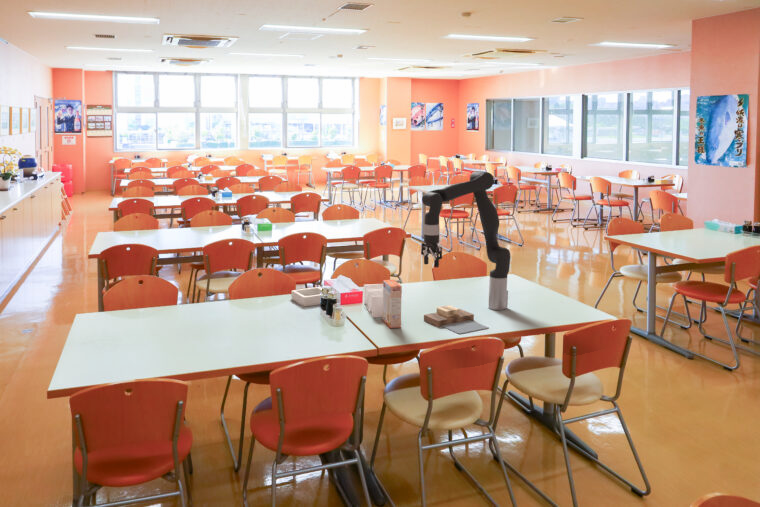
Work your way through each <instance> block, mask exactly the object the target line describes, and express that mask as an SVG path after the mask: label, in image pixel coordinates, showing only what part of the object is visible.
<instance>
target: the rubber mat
mask: <svg viewBox="0 0 760 507" xmlns="http://www.w3.org/2000/svg"><path fill="white" fill-rule="evenodd" d="M441 327H442V328H444V329H447V330H449V331H451V332H453V333H456V334H458V335H462V334H466V333H467V334H468V333H473V332H479V331H483V330H487V329H488V330H489V328H490V327H489V326H486V325H484V324H481V323H479V322H476V321H474V320H468V321H463V322H457V323H452V324H447V325H442V326H441Z"/></svg>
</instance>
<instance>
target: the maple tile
mask: <svg viewBox="0 0 760 507" xmlns="http://www.w3.org/2000/svg"><path fill="white" fill-rule="evenodd" d="M459 309H460V308H458V307H455V306H452V305H450V304H449V305H443V306H438V307H436V313H437V314H440V315H442V316H444V317H451V316H456V315H459Z"/></svg>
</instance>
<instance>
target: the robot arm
mask: <svg viewBox="0 0 760 507" xmlns="http://www.w3.org/2000/svg"><path fill="white" fill-rule="evenodd" d="M494 183H495V178H494V176H493V174H492V173H490V172H488V171H483V170H482V171H481V170H477V171H476V170H475V171H473V172H472V173H471V175H470V176H469V180H468V181H464V182H463V181H462V182H458V183H453V184H450V185H448V186H445V187H442V188H439V189H433V190H429V191H427V192H425V193H423V195H422V197H421V201H422V204H423V205H424V206H426V207H429V211H427V212H425V214H424V227H423V243H421V247H420V254H421V256H423V265H428V264H429V257H430V256H429V255H431V256H432V257H433V259H434V260H433V268H439V267H440V260H442V259H443V248H442V246H438V245H439V243H440V215H441V211H442V208H443V203H446V202H450V201H453V200H455V199H458V198H461V197H463V196H466V195H468V194H473V196H474V199H475V202H476V206H477V210H478V214H479V218H480V224H481V228H482V231H483V236H484V240H485V241H484V242H485V248H486V256H487V259H488V260H489V262H491V263H492V264H495V268H494V269H491V270H490V271H489V286H488V309H490V310H494V311H502V310H506V309H508V305H509V304H508V300H509V299H508V298H509V290H508V274H509V272H510V268H511V267H510V266H511V252H510V250H509V249H508V248H506V247H503V246H500V243H499V240H498V236H497V235H498V230H499V227H500V217H499V215H498V211H497V208H496V206H495V205H494V204H493V202H492V200H491V199H490V198H489V195H488V193H487V190H489V189H491V188H492V187H493V185H494Z"/></svg>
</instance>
